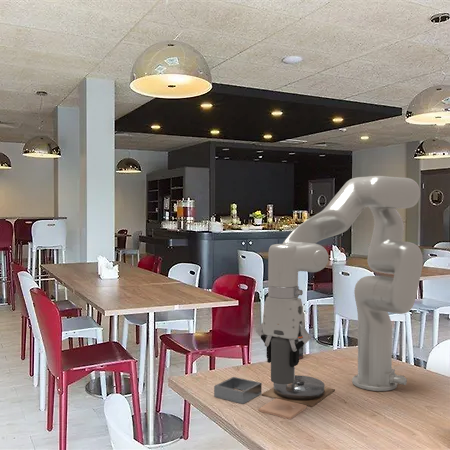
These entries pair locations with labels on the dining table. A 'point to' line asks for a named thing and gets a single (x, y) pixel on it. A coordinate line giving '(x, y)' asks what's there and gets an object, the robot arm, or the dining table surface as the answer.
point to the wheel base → (308, 402)
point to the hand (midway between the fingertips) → (282, 362)
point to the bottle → (281, 360)
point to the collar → (228, 393)
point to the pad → (283, 408)
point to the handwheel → (301, 388)
